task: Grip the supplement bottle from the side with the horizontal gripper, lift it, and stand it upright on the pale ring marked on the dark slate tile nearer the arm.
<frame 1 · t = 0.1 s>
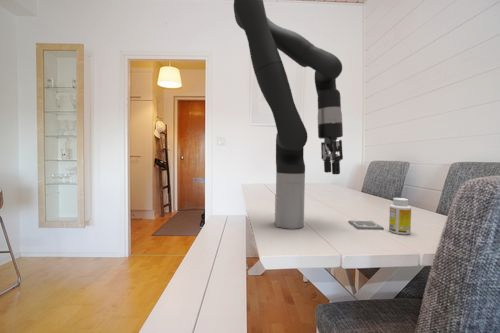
hand: (331, 173, 81), 17 cm above the table, tool pointing down, fingers open, 8 cm apart
supplement bottle: (399, 232, 76), on the table
slate tile: (365, 225, 83), on the table
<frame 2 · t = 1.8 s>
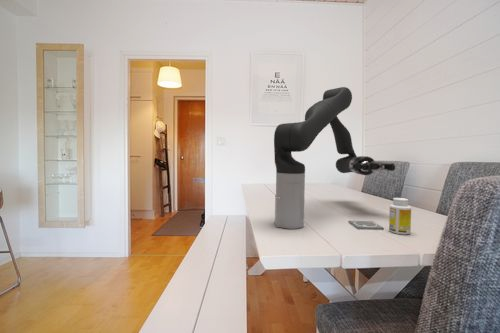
hand: (381, 167, 88), 19 cm above the table, tool horizontal, fingers open, 8 cm apart
nothing on the table moved.
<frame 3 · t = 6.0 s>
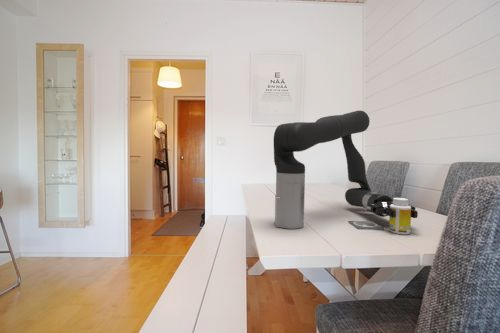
hand: (405, 214, 73), 6 cm above the table, tool horizontal, fingers closed on supplement bottle, 5 cm apart
supplement bottle: (399, 232, 76), on the table, touching gripper
when the fingers open (8 cm above the table, at t = 11.2 s): supplement bottle drops 1 cm, resting on slate tile.
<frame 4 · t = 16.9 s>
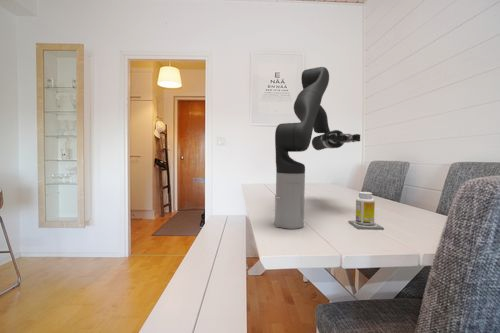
hand: (346, 136, 93), 30 cm above the table, tool horizontal, fingers open, 8 cm apart
supplement bottle: (364, 224, 83), point 1 cm above the table, touching slate tile
at the end: supplement bottle 0.2 cm off-centre on the slate tile, point 0.5 cm above the slate tile's base; supplement bottle tilted 1°; the gripper is holding nothing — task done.
